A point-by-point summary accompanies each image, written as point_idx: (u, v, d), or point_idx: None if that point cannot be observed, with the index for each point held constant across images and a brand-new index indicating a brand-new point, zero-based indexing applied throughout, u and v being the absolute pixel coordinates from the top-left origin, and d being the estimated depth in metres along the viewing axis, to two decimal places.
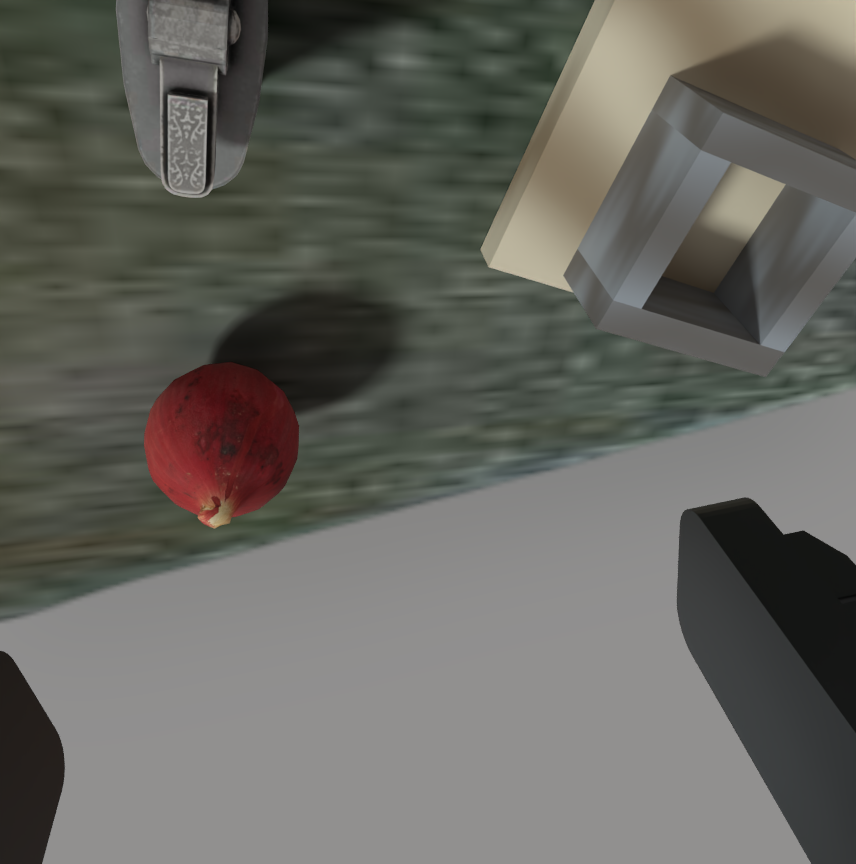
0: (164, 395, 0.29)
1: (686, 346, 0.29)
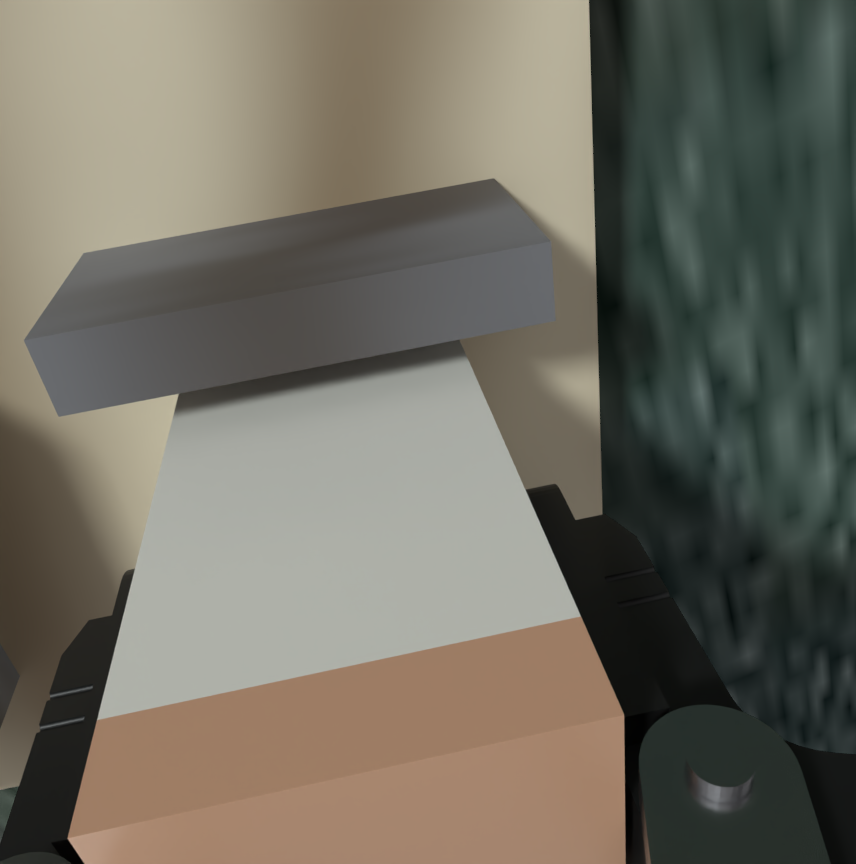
0: None
1: None
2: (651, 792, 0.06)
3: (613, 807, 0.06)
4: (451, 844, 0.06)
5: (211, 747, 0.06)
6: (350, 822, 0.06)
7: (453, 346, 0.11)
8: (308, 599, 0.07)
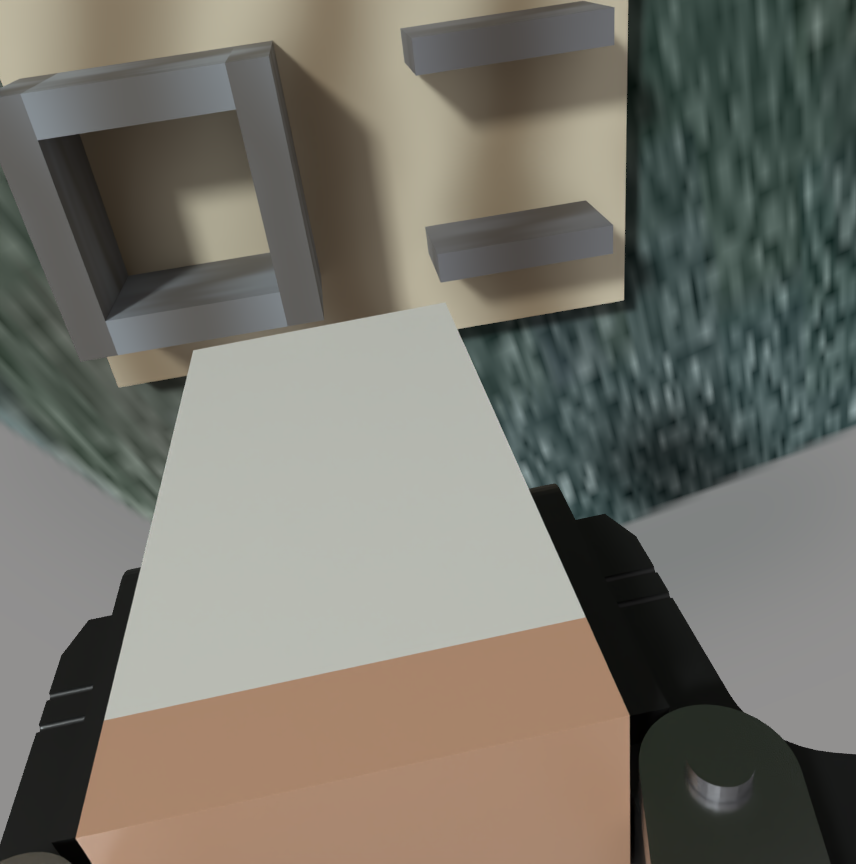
0: None
1: (41, 237, 0.23)
2: (650, 792, 0.06)
3: (618, 808, 0.06)
4: (457, 844, 0.06)
5: (217, 748, 0.06)
6: (356, 822, 0.06)
7: (456, 347, 0.11)
8: (314, 600, 0.07)
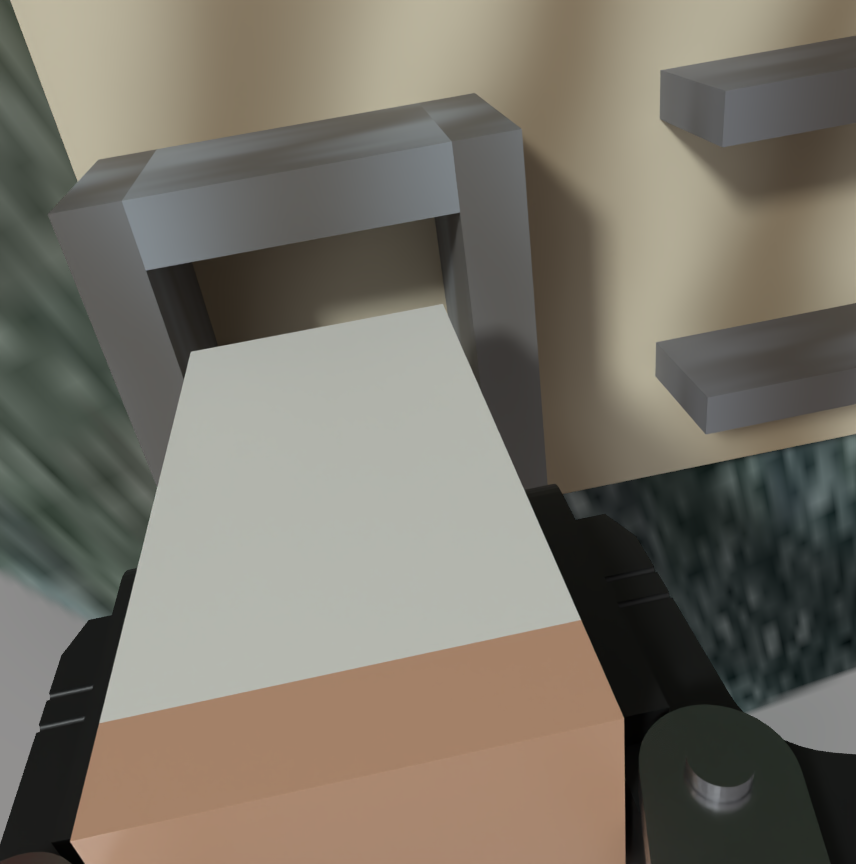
0: None
1: (144, 411, 0.15)
2: (651, 792, 0.06)
3: (612, 809, 0.06)
4: (451, 847, 0.06)
5: (212, 750, 0.06)
6: (351, 825, 0.06)
7: (453, 349, 0.11)
8: (309, 603, 0.07)
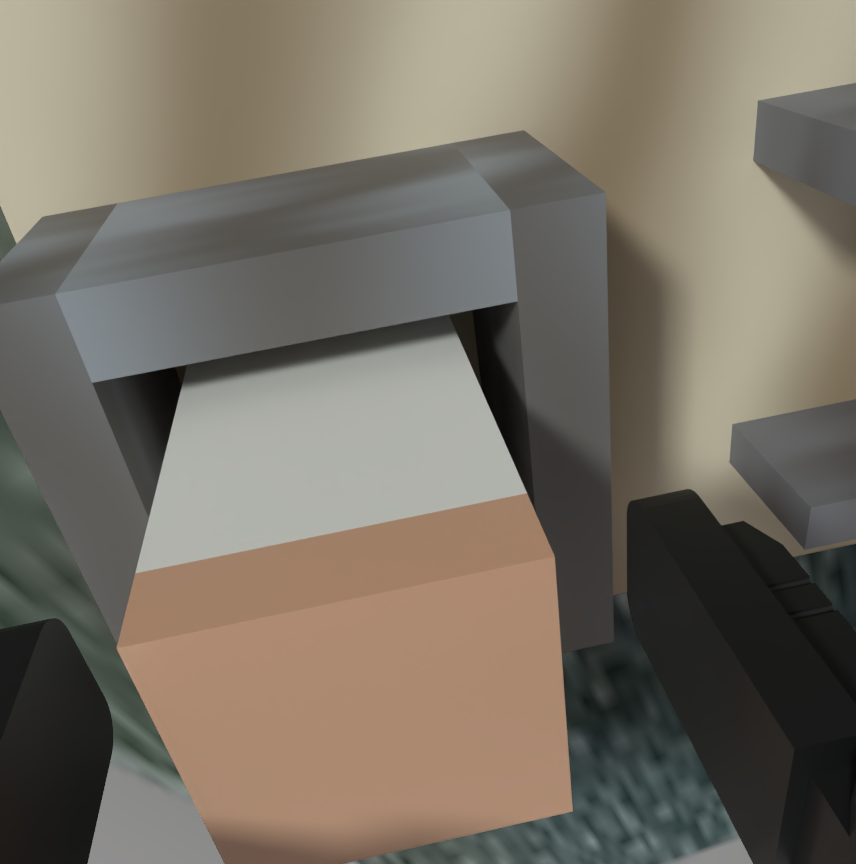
0: None
1: (96, 554, 0.11)
2: None
3: (549, 642, 0.08)
4: (420, 671, 0.08)
5: (226, 588, 0.07)
6: (338, 645, 0.07)
7: None
8: (306, 488, 0.09)
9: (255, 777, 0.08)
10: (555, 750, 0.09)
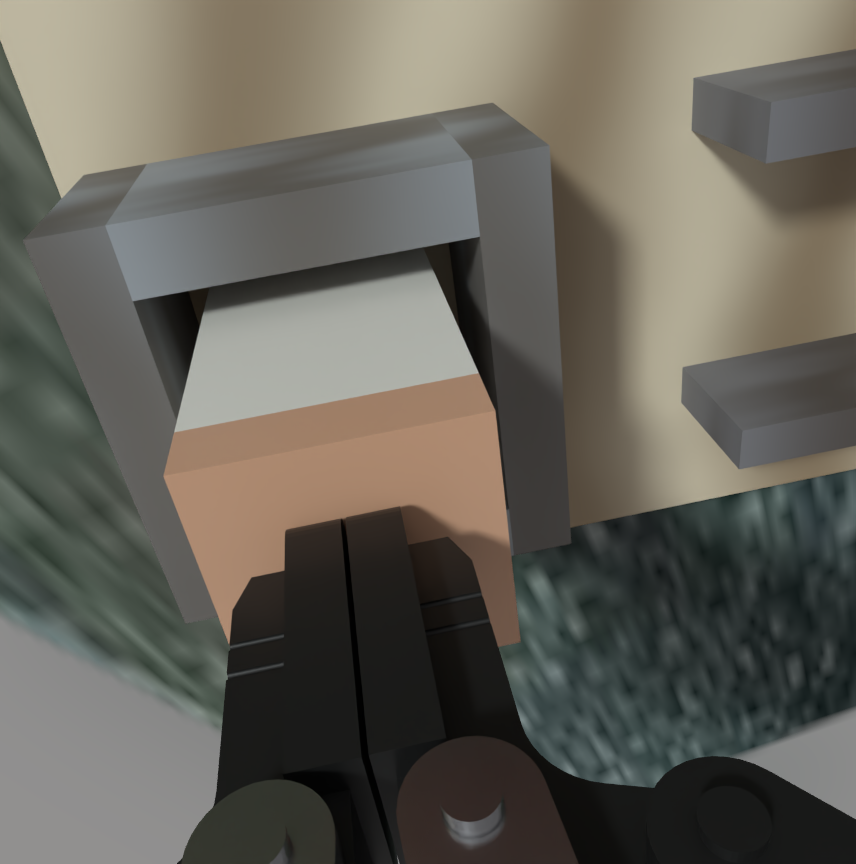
0: None
1: (131, 451, 0.14)
2: (402, 826, 0.06)
3: (494, 485, 0.10)
4: (394, 506, 0.10)
5: (245, 438, 0.10)
6: (331, 481, 0.10)
7: None
8: (306, 376, 0.11)
9: None
10: (503, 583, 0.11)
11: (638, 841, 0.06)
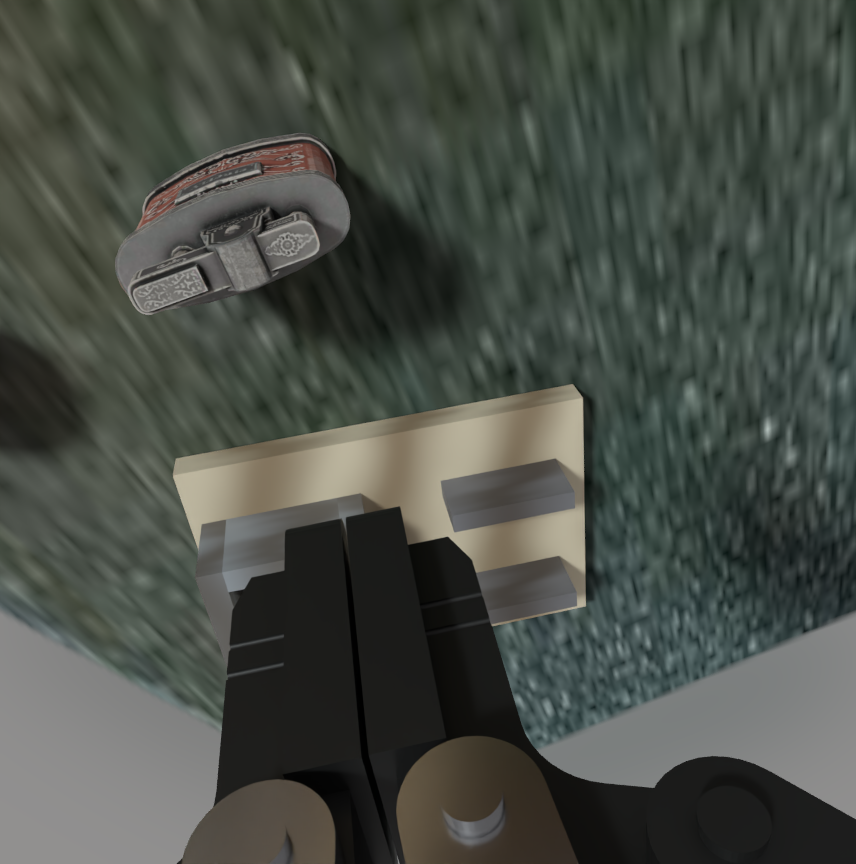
0: None
1: (223, 637, 0.37)
2: (401, 826, 0.06)
3: None
4: None
5: None
6: None
7: None
8: None
9: None
10: None
11: (638, 841, 0.06)
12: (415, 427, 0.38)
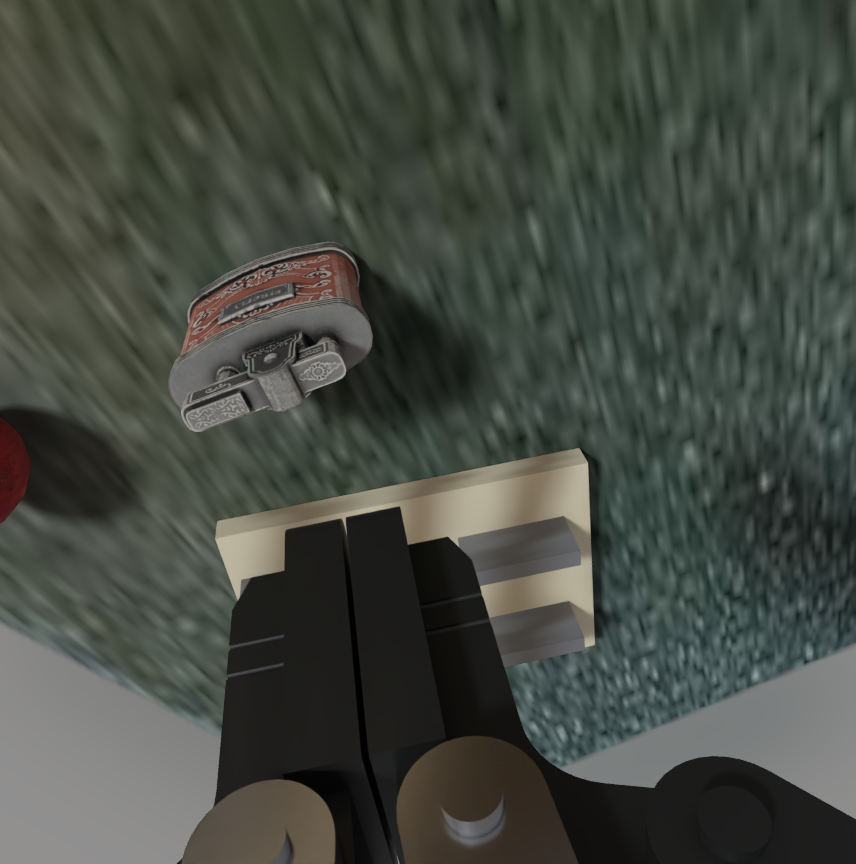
0: None
1: None
2: (402, 825, 0.06)
3: None
4: None
5: None
6: None
7: None
8: None
9: None
10: None
11: (638, 841, 0.06)
12: (434, 491, 0.42)
